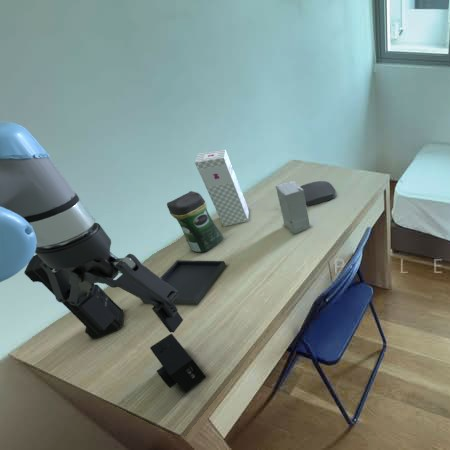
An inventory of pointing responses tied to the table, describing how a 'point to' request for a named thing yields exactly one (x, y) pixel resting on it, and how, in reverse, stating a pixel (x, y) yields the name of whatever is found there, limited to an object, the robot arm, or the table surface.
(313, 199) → the media streaming box
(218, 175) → the box
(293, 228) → the cosmetic box
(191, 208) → the coffee jar
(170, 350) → the digital camera
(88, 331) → the portable radio
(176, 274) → the shallow black tray
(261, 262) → the table surface
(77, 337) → the table surface
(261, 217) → the table surface
